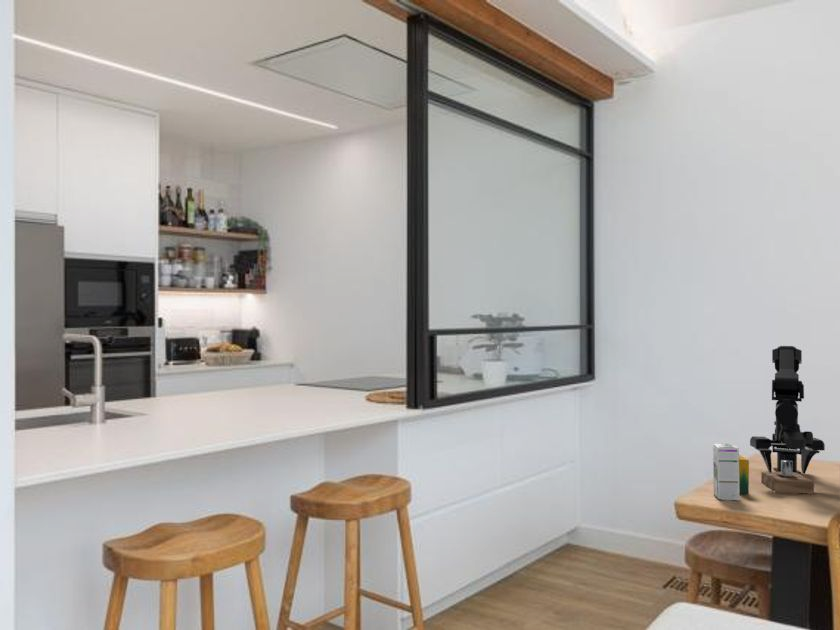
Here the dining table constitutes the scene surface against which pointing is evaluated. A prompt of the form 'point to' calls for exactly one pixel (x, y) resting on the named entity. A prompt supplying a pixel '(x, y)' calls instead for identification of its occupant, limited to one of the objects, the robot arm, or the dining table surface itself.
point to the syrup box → (726, 471)
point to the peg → (786, 469)
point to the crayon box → (743, 475)
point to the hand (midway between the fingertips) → (786, 472)
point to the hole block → (787, 483)
